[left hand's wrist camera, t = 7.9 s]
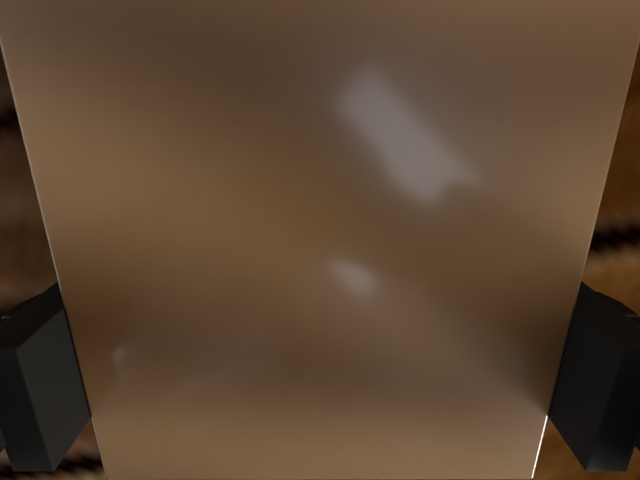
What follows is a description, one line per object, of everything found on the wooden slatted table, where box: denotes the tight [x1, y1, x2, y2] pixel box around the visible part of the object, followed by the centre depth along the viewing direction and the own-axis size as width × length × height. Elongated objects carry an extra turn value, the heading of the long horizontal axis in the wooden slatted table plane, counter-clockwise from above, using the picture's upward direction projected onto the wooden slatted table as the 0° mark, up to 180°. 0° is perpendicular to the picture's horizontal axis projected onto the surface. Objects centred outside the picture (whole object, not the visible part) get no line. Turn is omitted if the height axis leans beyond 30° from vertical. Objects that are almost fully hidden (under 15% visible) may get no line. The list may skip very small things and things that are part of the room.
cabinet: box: [0, 0, 640, 480], centre depth 11 cm, size 18×10×9 cm, turn 0°
